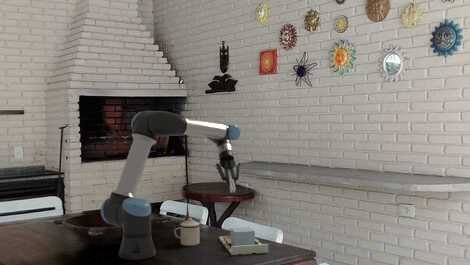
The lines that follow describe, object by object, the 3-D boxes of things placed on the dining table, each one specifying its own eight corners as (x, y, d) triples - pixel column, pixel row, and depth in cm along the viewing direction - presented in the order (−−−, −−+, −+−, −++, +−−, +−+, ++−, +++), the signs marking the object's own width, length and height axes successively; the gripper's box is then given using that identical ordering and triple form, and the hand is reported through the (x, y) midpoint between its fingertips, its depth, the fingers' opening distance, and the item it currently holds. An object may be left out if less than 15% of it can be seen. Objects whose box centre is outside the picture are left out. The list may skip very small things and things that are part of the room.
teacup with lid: (201, 241, 236) (201, 216, 236) (197, 246, 227) (197, 220, 227) (176, 240, 238) (176, 216, 237) (171, 245, 229) (171, 220, 228)
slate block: (230, 244, 231) (230, 227, 231) (249, 242, 233) (249, 226, 233) (235, 249, 222) (234, 232, 222) (254, 247, 224) (254, 231, 224)
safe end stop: (231, 254, 213) (231, 246, 213) (267, 251, 216) (267, 243, 216) (231, 255, 212) (231, 246, 212) (268, 252, 215) (268, 244, 215)
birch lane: (218, 238, 240) (218, 236, 240) (251, 236, 244) (251, 234, 244) (231, 254, 213) (231, 251, 213) (267, 251, 216) (267, 249, 216)
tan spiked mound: (170, 228, 267) (170, 203, 267) (177, 224, 277) (177, 200, 276) (196, 229, 263) (196, 204, 262) (203, 225, 272) (203, 201, 272)
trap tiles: (224, 239, 239) (224, 238, 239) (247, 237, 242) (247, 237, 242) (227, 243, 232) (227, 242, 232) (251, 241, 234) (251, 241, 234)
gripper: (237, 158, 265) (245, 195, 250) (212, 159, 262) (218, 196, 247) (239, 149, 260) (247, 185, 244) (213, 149, 257) (220, 186, 241)
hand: (233, 191), depth 245 cm, fingers closed
